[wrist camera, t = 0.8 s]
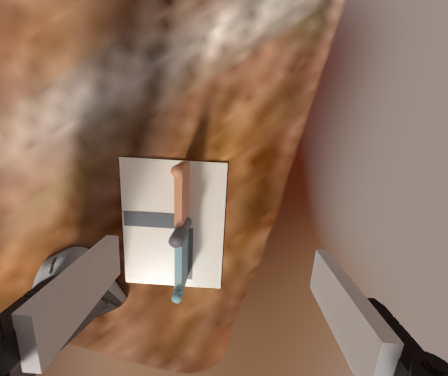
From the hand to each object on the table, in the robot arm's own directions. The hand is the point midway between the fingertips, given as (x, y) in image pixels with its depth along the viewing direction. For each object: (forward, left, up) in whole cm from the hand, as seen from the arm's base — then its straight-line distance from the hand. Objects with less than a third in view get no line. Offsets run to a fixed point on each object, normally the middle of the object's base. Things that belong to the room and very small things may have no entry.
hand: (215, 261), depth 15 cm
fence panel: (0, -6, -20) cm, 21 cm away
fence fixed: (+10, -6, -20) cm, 23 cm away
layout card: (+7, -8, -20) cm, 23 cm away
